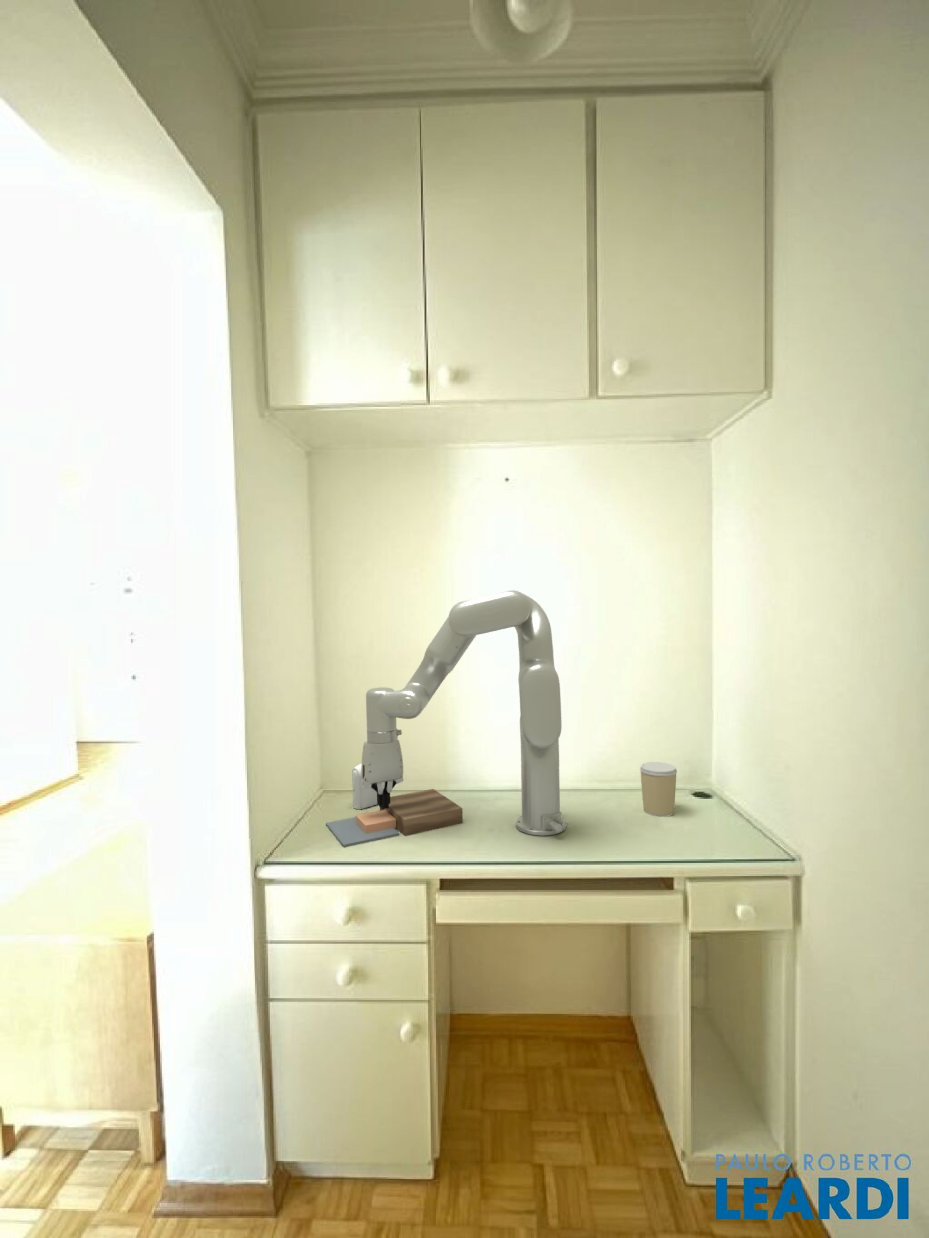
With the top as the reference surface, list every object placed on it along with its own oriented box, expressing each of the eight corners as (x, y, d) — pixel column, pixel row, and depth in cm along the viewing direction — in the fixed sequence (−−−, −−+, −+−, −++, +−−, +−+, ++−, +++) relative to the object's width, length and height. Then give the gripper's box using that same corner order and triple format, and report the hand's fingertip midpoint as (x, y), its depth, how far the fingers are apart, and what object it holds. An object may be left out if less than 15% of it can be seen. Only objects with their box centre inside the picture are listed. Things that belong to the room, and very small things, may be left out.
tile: (396, 827, 152) (396, 819, 152) (365, 833, 148) (365, 825, 148) (385, 817, 159) (385, 809, 159) (356, 822, 155) (355, 815, 155)
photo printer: (359, 811, 166) (357, 766, 165) (350, 807, 169) (349, 763, 168) (389, 801, 173) (388, 759, 172) (380, 798, 176) (379, 756, 175)
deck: (462, 823, 155) (462, 807, 155) (404, 835, 148) (404, 819, 148) (433, 802, 171) (433, 788, 171) (379, 813, 164) (379, 798, 164)
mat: (399, 835, 148) (399, 832, 148) (343, 847, 142) (343, 844, 142) (377, 814, 162) (377, 812, 162) (325, 825, 156) (325, 822, 156)
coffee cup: (684, 812, 160) (684, 767, 159) (662, 820, 154) (661, 773, 154) (655, 802, 167) (655, 759, 167) (633, 810, 162) (632, 765, 162)
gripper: (403, 730, 161) (405, 798, 161) (349, 737, 154) (351, 808, 155) (414, 735, 154) (416, 806, 155) (358, 743, 147) (360, 817, 148)
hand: (383, 807), depth 155 cm, fingers closed
